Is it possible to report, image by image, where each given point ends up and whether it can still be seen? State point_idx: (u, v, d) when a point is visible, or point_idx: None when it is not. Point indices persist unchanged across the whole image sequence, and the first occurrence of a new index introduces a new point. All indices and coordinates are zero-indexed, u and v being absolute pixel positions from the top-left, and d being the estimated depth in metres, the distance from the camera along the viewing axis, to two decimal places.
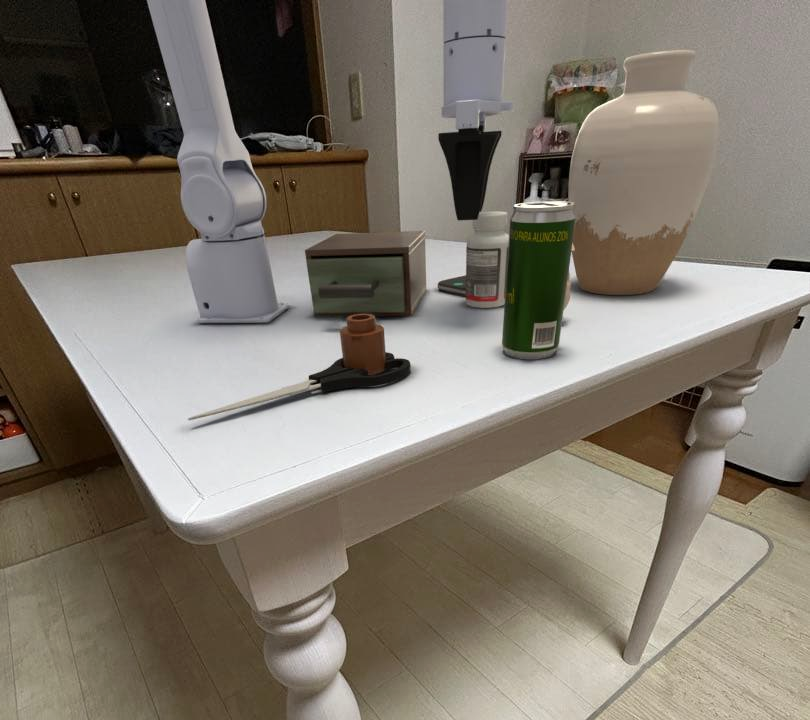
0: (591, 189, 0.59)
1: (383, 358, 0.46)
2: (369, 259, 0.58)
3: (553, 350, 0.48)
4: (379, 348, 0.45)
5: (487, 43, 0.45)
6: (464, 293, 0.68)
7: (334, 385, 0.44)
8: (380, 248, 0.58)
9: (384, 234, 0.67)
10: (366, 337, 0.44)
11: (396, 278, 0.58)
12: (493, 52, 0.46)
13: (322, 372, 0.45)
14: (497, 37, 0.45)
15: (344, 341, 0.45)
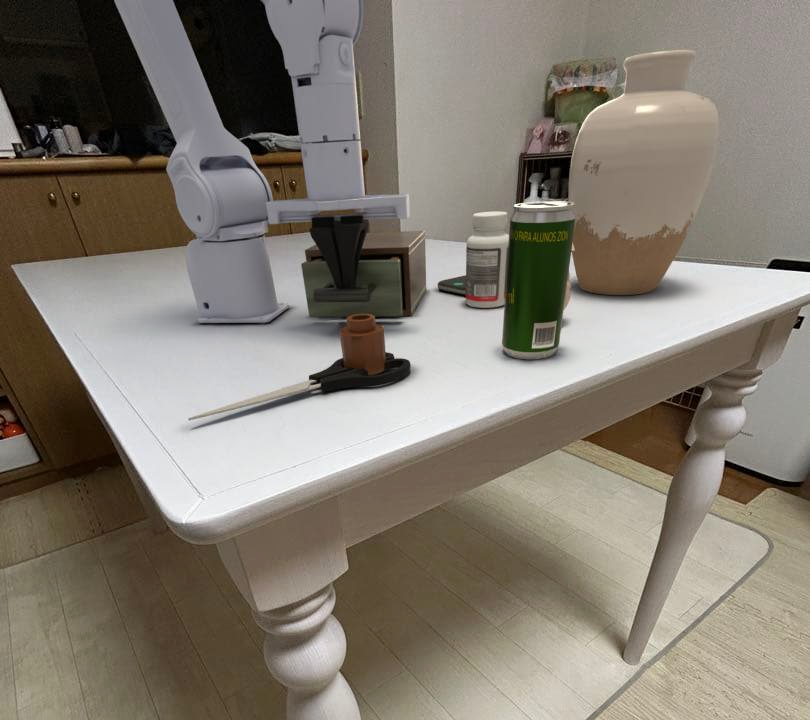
0: (591, 189, 0.59)
1: (383, 358, 0.46)
2: (365, 262, 0.56)
3: (553, 350, 0.48)
4: (379, 348, 0.45)
5: (301, 150, 0.48)
6: (464, 293, 0.68)
7: (334, 385, 0.44)
8: (380, 248, 0.58)
9: (384, 234, 0.67)
10: (366, 337, 0.44)
11: (393, 281, 0.57)
12: (305, 157, 0.48)
13: (322, 372, 0.45)
14: (305, 144, 0.47)
15: (344, 341, 0.45)
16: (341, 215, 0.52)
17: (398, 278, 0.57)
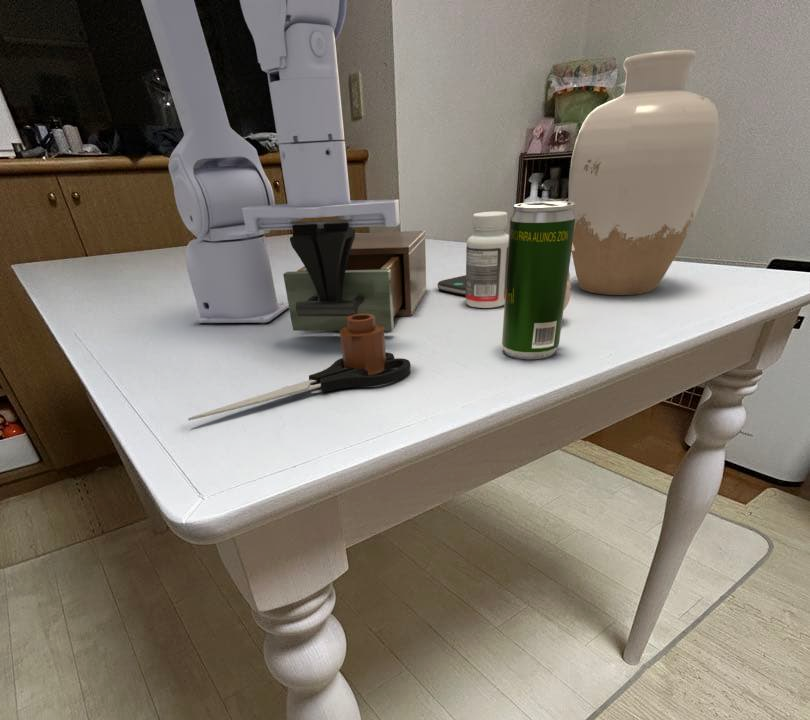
0: (591, 189, 0.59)
1: (383, 358, 0.46)
2: (353, 272, 0.52)
3: (553, 350, 0.48)
4: (379, 348, 0.45)
5: None
6: (464, 293, 0.68)
7: (334, 385, 0.44)
8: (380, 248, 0.58)
9: (384, 234, 0.67)
10: (366, 337, 0.44)
11: (383, 293, 0.53)
12: (283, 159, 0.44)
13: (322, 372, 0.45)
14: (283, 145, 0.43)
15: (344, 341, 0.45)
16: (324, 222, 0.47)
17: (388, 290, 0.52)
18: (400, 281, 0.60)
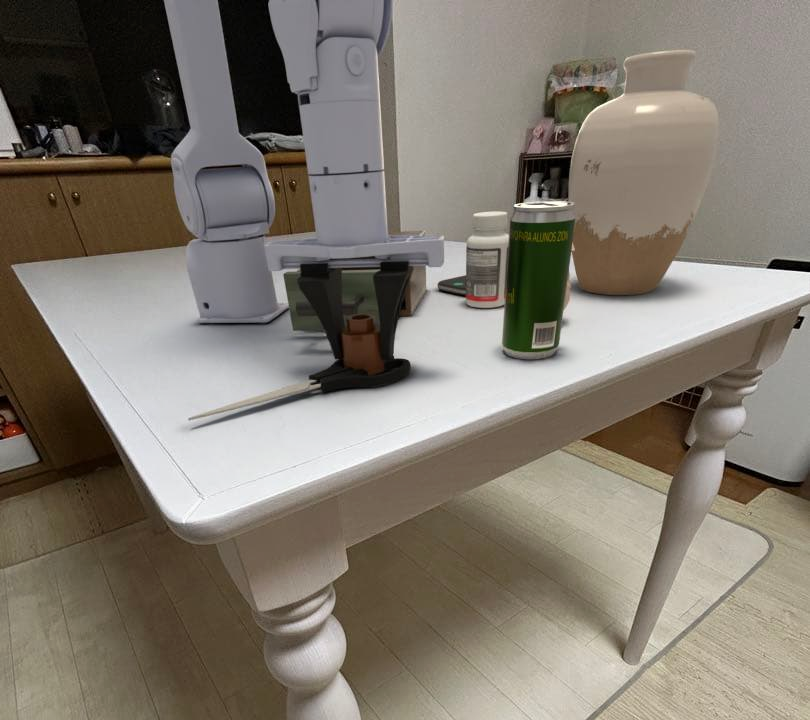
0: (591, 189, 0.59)
1: None
2: (353, 272, 0.52)
3: (553, 350, 0.48)
4: (379, 348, 0.45)
5: (310, 182, 0.38)
6: (464, 293, 0.68)
7: (334, 385, 0.44)
8: None
9: None
10: (366, 337, 0.44)
11: None
12: (314, 192, 0.38)
13: (322, 372, 0.45)
14: (314, 176, 0.37)
15: (344, 341, 0.45)
16: (358, 261, 0.42)
17: None
18: None
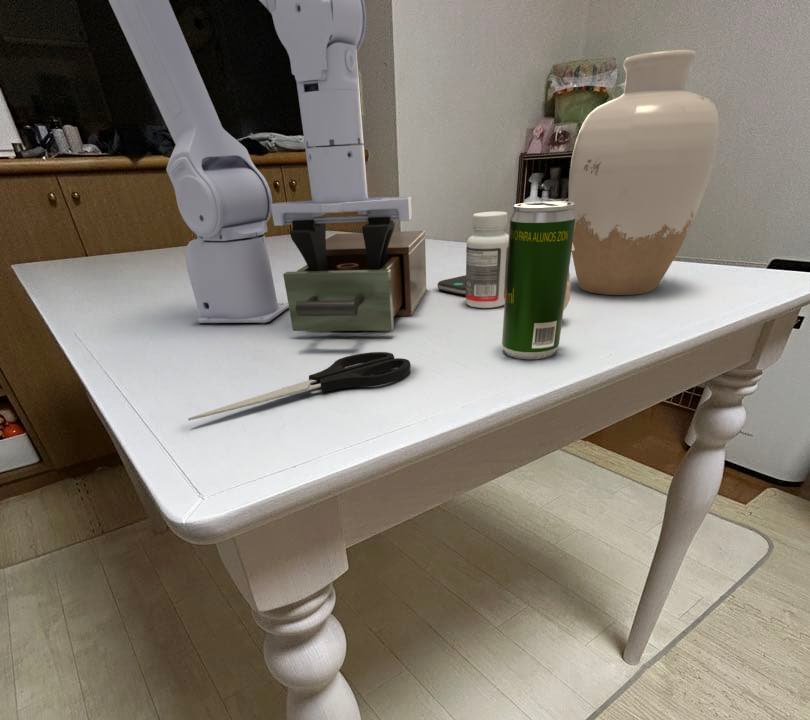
0: (591, 189, 0.59)
1: None
2: (353, 272, 0.52)
3: (553, 350, 0.48)
4: None
5: (306, 153, 0.49)
6: (464, 293, 0.68)
7: (334, 385, 0.44)
8: None
9: None
10: None
11: (382, 293, 0.53)
12: (309, 161, 0.49)
13: (322, 372, 0.45)
14: (309, 148, 0.48)
15: None
16: (344, 217, 0.53)
17: (388, 290, 0.52)
18: (400, 281, 0.60)
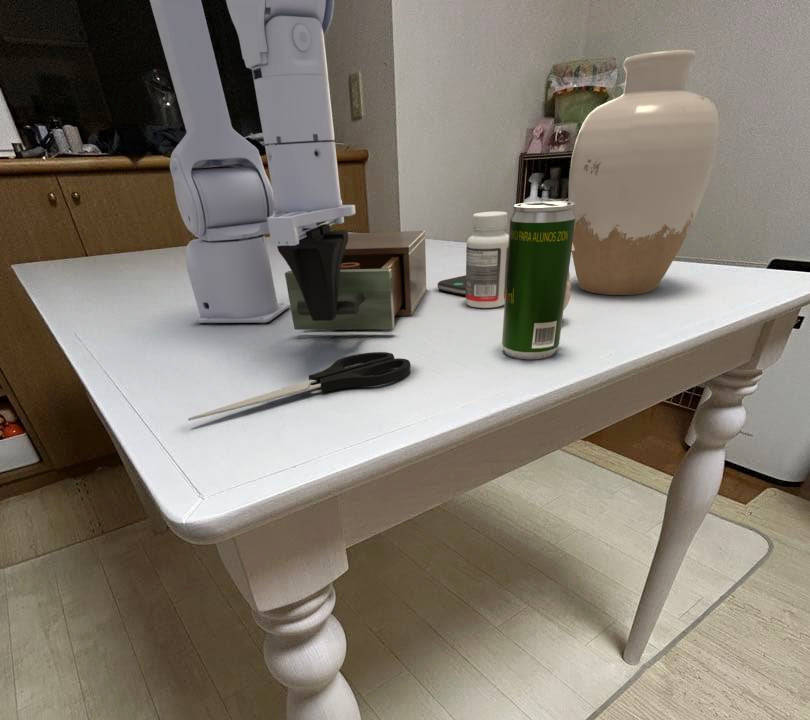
0: (591, 189, 0.59)
1: None
2: (354, 271, 0.52)
3: (553, 350, 0.48)
4: None
5: (306, 149, 0.40)
6: (464, 293, 0.68)
7: (334, 385, 0.44)
8: (380, 248, 0.58)
9: (384, 234, 0.67)
10: None
11: (383, 292, 0.53)
12: (316, 158, 0.40)
13: (322, 372, 0.45)
14: (318, 142, 0.40)
15: None
16: (315, 226, 0.46)
17: (389, 289, 0.53)
18: (401, 280, 0.61)
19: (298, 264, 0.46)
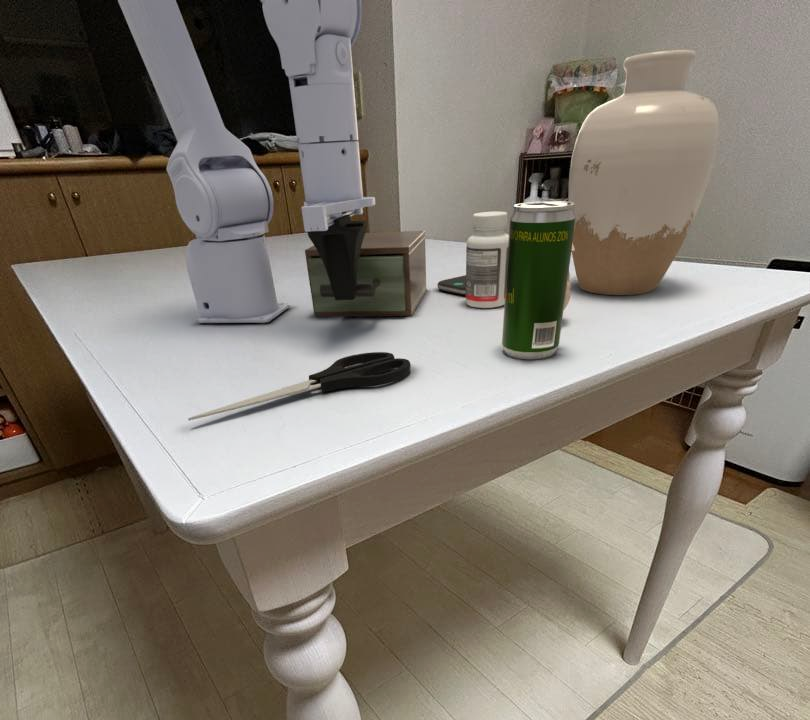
0: (591, 189, 0.59)
1: None
2: (370, 258, 0.58)
3: (553, 350, 0.48)
4: None
5: (335, 148, 0.46)
6: (464, 293, 0.68)
7: (334, 385, 0.44)
8: (380, 248, 0.58)
9: (384, 234, 0.67)
10: None
11: (397, 277, 0.59)
12: (342, 155, 0.47)
13: (322, 372, 0.45)
14: (345, 142, 0.46)
15: None
16: (339, 216, 0.52)
17: (402, 274, 0.59)
18: None
19: (325, 249, 0.53)
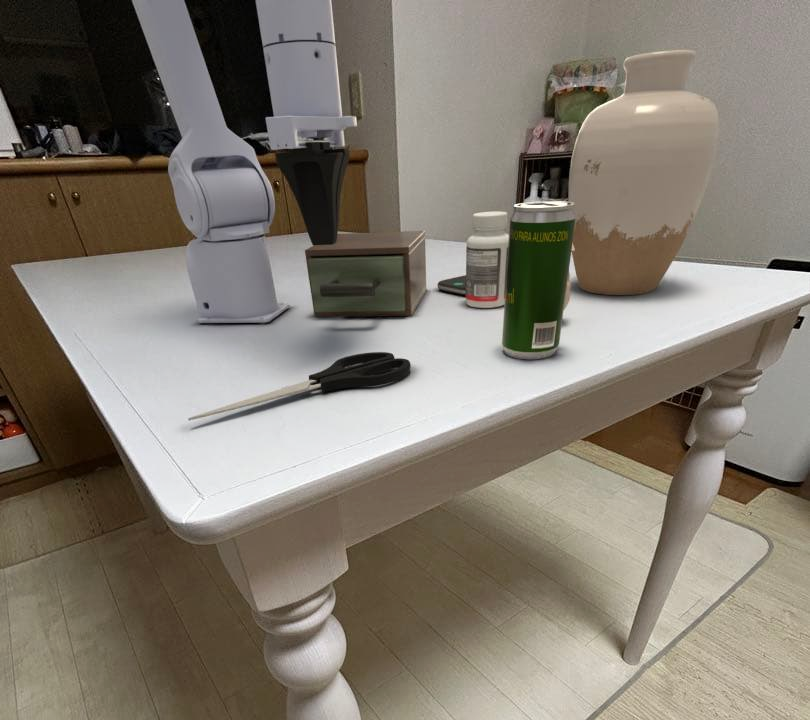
0: (591, 189, 0.59)
1: None
2: (370, 258, 0.58)
3: (553, 350, 0.48)
4: None
5: (306, 49, 0.39)
6: (464, 293, 0.68)
7: (334, 385, 0.44)
8: (380, 248, 0.58)
9: (384, 234, 0.67)
10: None
11: (397, 277, 0.59)
12: (316, 59, 0.39)
13: (322, 372, 0.45)
14: (318, 42, 0.39)
15: None
16: (315, 141, 0.44)
17: (402, 274, 0.59)
18: None
19: (297, 181, 0.45)
